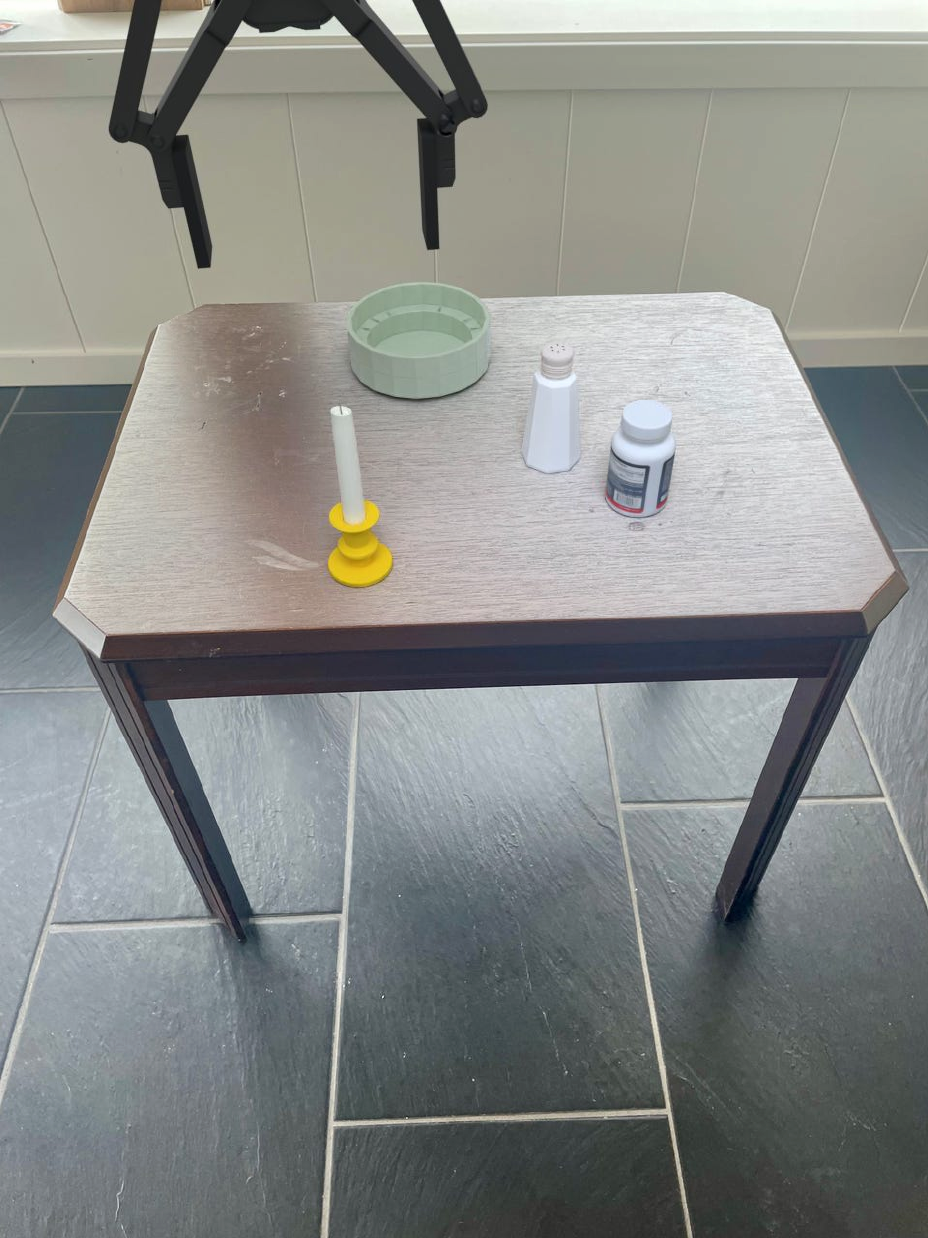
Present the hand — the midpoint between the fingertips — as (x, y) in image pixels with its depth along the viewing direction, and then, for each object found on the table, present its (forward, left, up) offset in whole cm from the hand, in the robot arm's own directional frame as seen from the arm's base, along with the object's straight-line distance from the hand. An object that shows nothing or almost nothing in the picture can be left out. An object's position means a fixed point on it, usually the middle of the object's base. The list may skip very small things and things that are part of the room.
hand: (319, 248), depth 58 cm
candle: (0, 0, -27) cm, 27 cm away
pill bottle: (+24, +4, -27) cm, 36 cm away
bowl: (+8, +28, -27) cm, 40 cm away
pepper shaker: (+18, +12, -27) cm, 34 cm away
